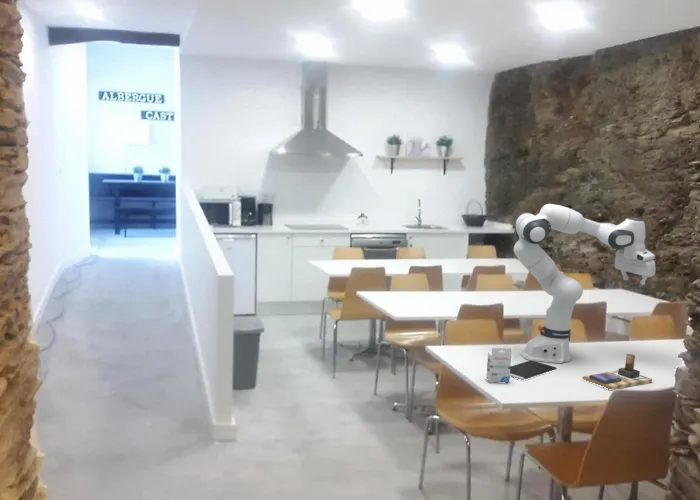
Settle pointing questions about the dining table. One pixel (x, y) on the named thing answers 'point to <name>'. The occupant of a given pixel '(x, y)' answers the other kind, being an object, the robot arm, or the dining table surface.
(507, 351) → the ink box
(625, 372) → the stamp
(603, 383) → the stamp board
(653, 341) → the dining table surface
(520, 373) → the black flat rectangular slab
